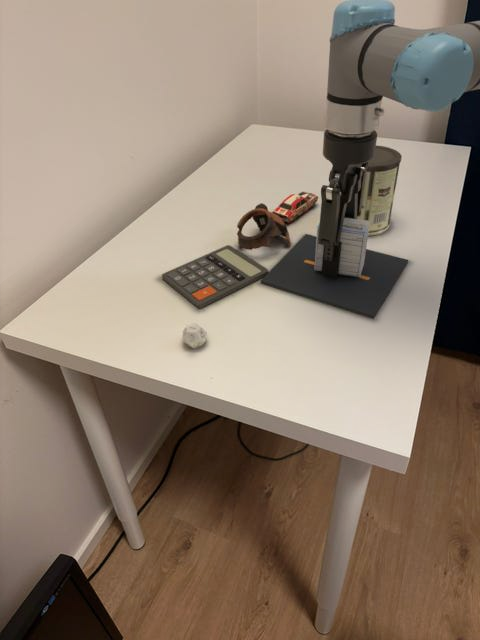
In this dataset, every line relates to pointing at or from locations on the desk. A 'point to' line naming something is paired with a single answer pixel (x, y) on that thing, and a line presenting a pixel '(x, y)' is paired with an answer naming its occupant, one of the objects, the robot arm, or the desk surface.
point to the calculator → (214, 275)
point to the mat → (336, 279)
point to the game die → (194, 335)
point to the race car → (295, 206)
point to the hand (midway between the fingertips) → (336, 266)
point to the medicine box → (348, 247)
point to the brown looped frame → (262, 228)
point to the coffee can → (380, 189)
